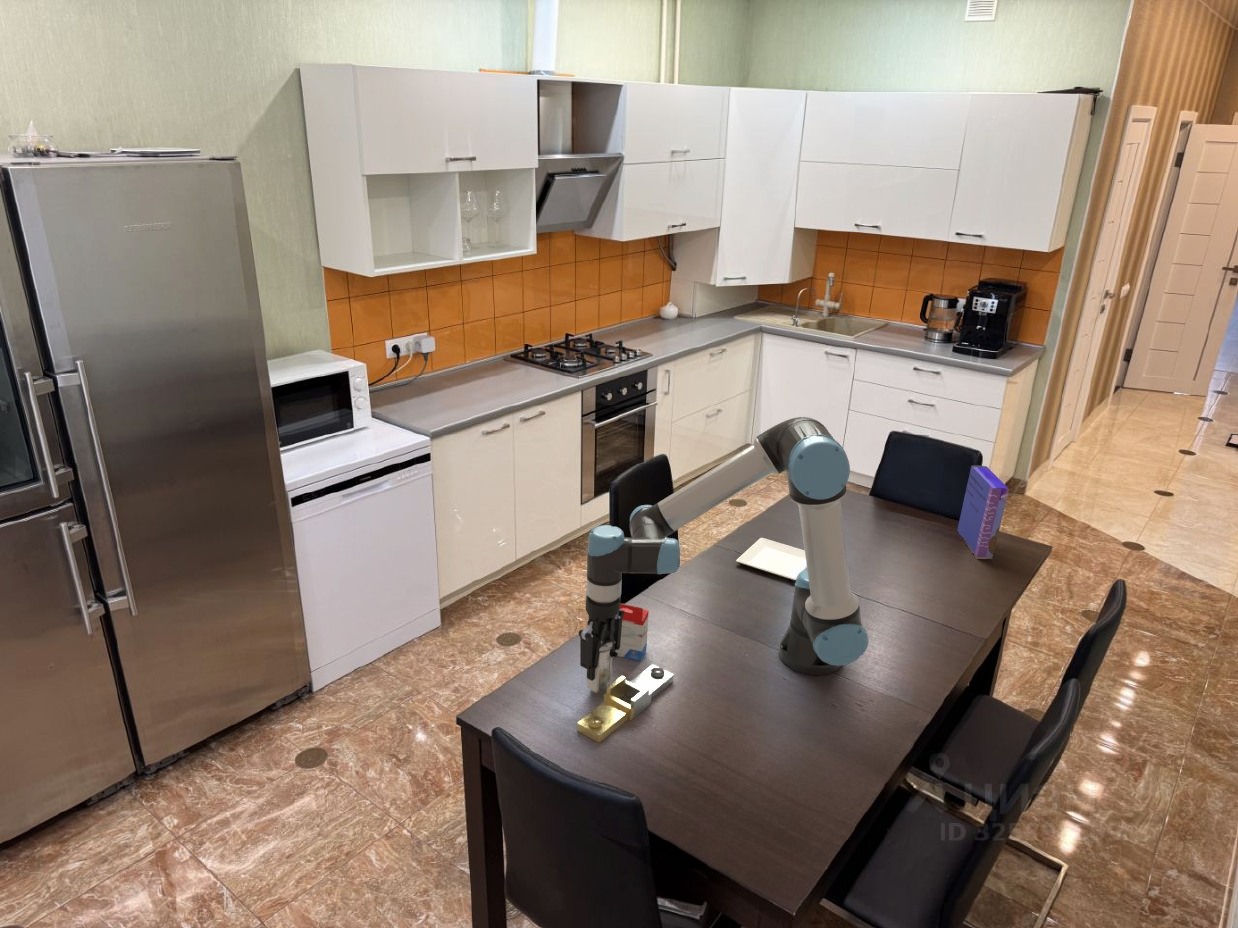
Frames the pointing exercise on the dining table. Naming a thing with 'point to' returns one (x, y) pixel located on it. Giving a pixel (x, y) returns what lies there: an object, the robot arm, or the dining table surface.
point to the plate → (775, 558)
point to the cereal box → (982, 510)
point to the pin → (603, 667)
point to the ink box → (633, 632)
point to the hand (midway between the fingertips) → (599, 684)
